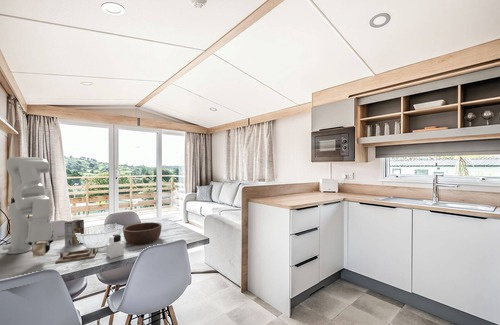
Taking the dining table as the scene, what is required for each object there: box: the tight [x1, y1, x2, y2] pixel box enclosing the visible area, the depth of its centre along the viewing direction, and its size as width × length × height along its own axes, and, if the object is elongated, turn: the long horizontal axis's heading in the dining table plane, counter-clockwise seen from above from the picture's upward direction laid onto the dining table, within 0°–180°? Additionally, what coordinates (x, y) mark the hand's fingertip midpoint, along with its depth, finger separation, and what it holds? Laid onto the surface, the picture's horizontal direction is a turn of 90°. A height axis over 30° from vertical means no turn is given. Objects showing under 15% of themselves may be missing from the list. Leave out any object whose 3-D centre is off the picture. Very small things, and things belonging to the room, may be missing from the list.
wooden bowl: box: [122, 221, 162, 246], centre depth 167 cm, size 25×25×10 cm
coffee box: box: [64, 219, 85, 247], centre depth 162 cm, size 9×6×16 cm
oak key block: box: [32, 241, 47, 258], centre depth 130 cm, size 4×8×6 cm, turn 24°
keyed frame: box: [54, 247, 99, 264], centre depth 139 cm, size 18×13×4 cm
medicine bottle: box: [105, 234, 125, 259], centre depth 140 cm, size 7×7×12 cm
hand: (41, 252), depth 130 cm, fingers closed on oak key block, 4 cm apart
